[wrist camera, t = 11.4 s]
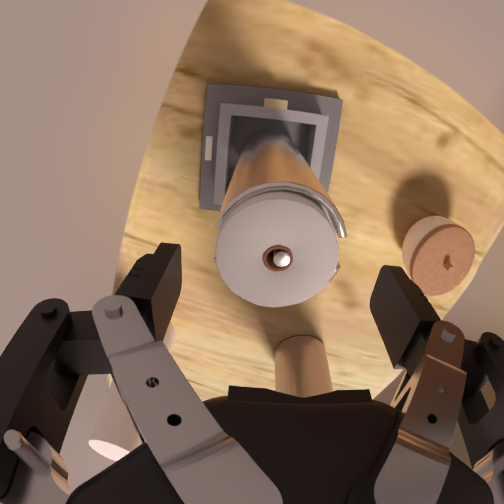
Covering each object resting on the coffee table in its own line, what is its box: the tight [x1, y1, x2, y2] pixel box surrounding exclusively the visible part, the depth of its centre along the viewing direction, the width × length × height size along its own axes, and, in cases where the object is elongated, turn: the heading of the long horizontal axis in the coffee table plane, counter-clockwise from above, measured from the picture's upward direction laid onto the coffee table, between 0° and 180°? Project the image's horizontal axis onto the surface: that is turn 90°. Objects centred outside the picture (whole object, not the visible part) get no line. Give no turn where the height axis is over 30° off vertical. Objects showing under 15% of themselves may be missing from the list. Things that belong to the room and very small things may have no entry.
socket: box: [200, 84, 343, 211], centre depth 34 cm, size 16×16×6 cm
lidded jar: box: [402, 216, 475, 296], centre depth 37 cm, size 11×11×9 cm
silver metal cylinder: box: [214, 129, 347, 308], centre depth 25 cm, size 6×6×25 cm
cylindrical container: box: [89, 323, 176, 461], centre depth 41 cm, size 7×7×25 cm
